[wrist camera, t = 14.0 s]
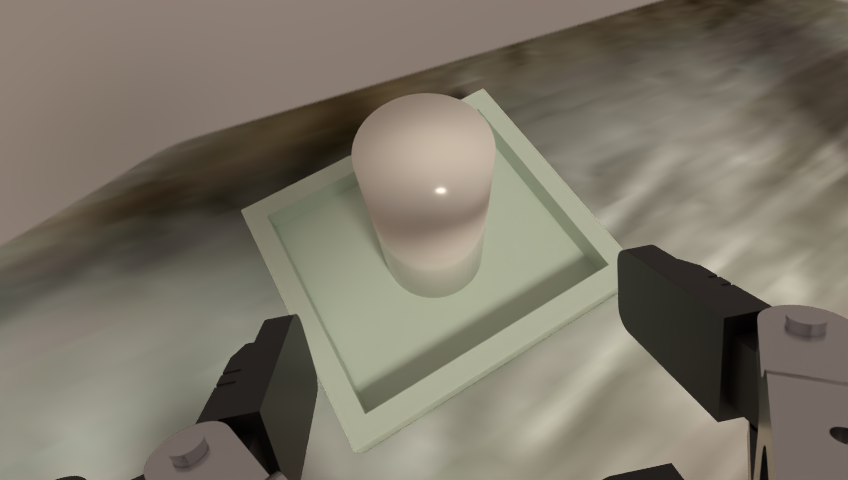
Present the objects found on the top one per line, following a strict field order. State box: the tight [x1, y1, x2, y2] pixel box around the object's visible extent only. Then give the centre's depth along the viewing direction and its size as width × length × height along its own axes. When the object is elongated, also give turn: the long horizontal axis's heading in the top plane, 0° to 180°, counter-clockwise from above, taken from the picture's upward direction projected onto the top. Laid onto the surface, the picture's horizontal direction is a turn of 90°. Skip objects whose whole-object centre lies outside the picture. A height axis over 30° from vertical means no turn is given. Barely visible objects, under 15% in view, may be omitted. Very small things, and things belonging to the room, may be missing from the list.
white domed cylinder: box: [352, 93, 496, 298], centre depth 22 cm, size 6×6×10 cm
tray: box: [241, 89, 623, 453], centre depth 27 cm, size 17×15×2 cm
